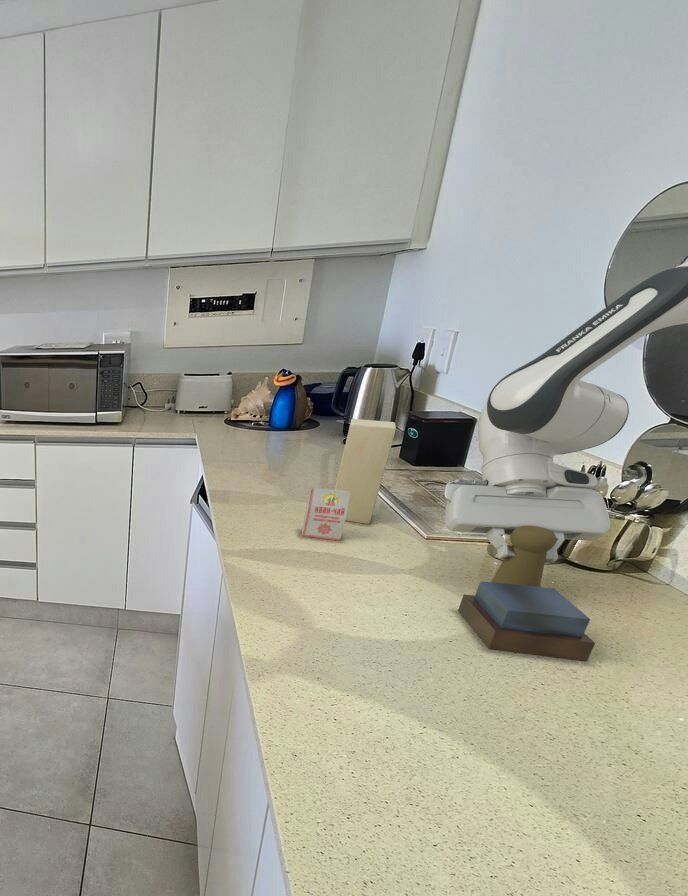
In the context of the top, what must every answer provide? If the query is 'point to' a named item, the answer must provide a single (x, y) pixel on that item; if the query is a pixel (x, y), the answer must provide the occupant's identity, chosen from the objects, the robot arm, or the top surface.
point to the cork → (526, 556)
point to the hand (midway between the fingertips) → (527, 559)
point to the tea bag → (325, 514)
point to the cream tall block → (364, 466)
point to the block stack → (527, 620)
